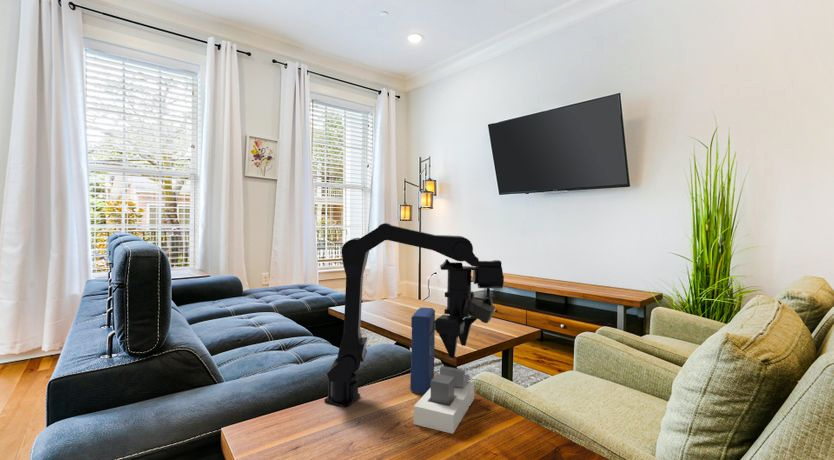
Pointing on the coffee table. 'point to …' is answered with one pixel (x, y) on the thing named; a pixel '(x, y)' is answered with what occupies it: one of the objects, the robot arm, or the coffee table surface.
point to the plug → (442, 389)
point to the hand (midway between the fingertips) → (458, 351)
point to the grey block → (456, 376)
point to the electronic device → (422, 350)
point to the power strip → (444, 410)
